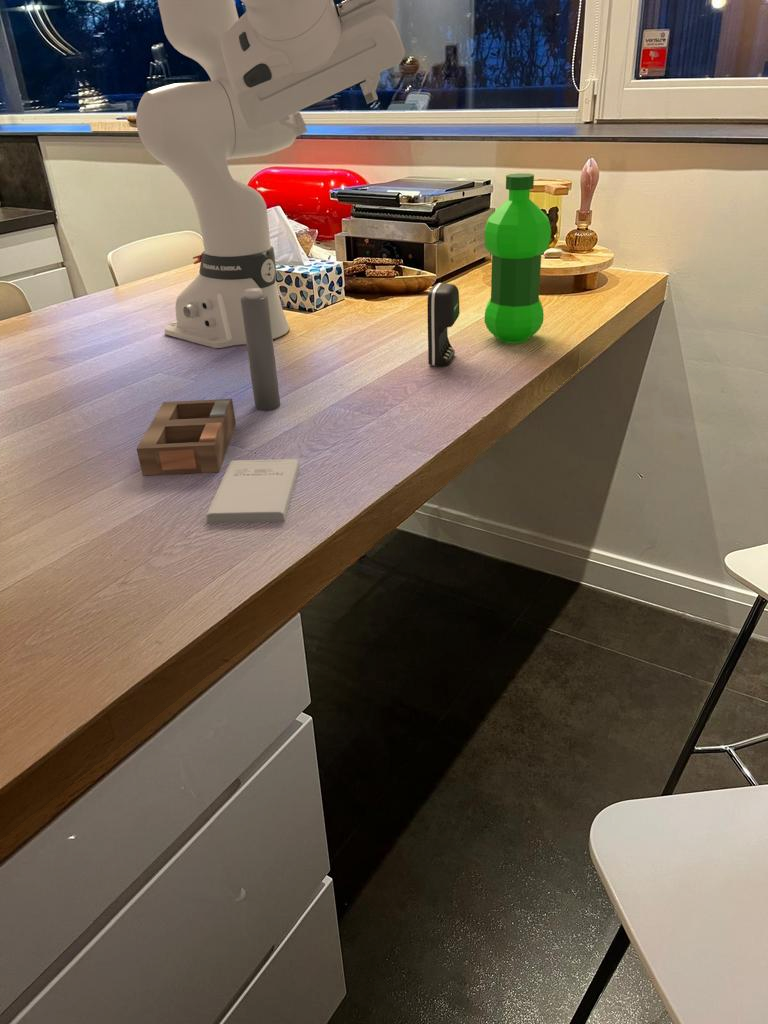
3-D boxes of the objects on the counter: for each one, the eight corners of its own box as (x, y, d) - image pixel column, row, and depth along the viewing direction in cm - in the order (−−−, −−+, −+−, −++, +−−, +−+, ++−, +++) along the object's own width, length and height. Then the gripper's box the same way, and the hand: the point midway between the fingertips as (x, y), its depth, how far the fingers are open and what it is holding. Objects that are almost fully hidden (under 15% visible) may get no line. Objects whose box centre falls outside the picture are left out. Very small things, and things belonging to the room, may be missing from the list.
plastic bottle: (506, 352, 123) (513, 182, 111) (470, 335, 131) (472, 175, 119) (557, 340, 127) (569, 175, 114) (518, 324, 135) (526, 168, 123)
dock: (218, 472, 91) (213, 443, 89) (142, 476, 91) (135, 447, 89) (236, 422, 104) (232, 395, 102) (168, 425, 104) (163, 399, 102)
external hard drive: (207, 526, 82) (231, 471, 93) (285, 525, 82) (300, 470, 92) (205, 513, 81) (229, 459, 92) (283, 511, 81) (298, 457, 91)
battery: (452, 368, 118) (452, 293, 112) (427, 367, 119) (426, 292, 113) (460, 353, 124) (461, 280, 118) (437, 352, 125) (436, 280, 119)
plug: (250, 408, 108) (233, 292, 100) (265, 399, 111) (250, 285, 102) (270, 412, 106) (255, 294, 98) (285, 403, 109) (272, 288, 101)
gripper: (379, -41, 82) (406, 57, 95) (206, 44, 85) (256, 128, 98) (397, 4, 80) (422, 97, 94) (220, 89, 84) (268, 168, 97)
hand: (335, 113), depth 96 cm, fingers open, 8 cm apart
